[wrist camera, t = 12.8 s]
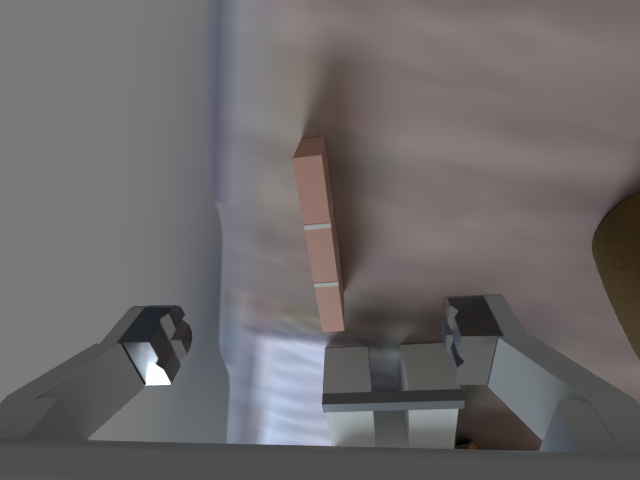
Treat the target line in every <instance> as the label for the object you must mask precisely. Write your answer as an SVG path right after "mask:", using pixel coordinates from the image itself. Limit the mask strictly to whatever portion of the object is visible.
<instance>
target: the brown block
mask: <svg viewBox="0 0 640 480" xmlns="http://www.w3.org/2000/svg"><path fill="white" fill-rule="evenodd" d="M293 163H294V169H295V175H296V180H297V186H298V192H299V198H300V204H301V209H302V215H303V221H304V229H305V233H306V238H307V244H308V250H309V256H310V262H311V267H312V273H313V279H314V287H315V291H316V297H317V302H318V308H319V314H320V320H321V326H322V331H323V332H334V331H344V288H343V280H342V272H341V264H340V255H339V247H338V239H337V231H336V222H335V214H334V206H333V195H332V189H331V181H330V173H329V165H328V156H327V148H326V140H325V136H323V137H315V138H306V139H301V141H300V143H299V145H298V147H297V150H296V152H295V154H294V156H293Z"/></svg>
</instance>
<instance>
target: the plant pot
mask: <svg viewBox="0 0 640 480" xmlns="http://www.w3.org/2000/svg"><path fill="white" fill-rule="evenodd" d="M592 252H593V256H594V259H595V262H596V266H597V269H598V272H599V274H600V277H601V280H602V282H603V285H604V288H605V290H606V293H607V295H608V297H609V300H610V302H611V304H612V306H613V309H614V311H615V313H616V315H617V318H618V320H619V322H620V324H621V326H622V328H623V330H624V332H625V334H626V336H627V338H628V340H629V342H630V344H631V346H632V347H633V349H634V351H635V353H636V355H637V357H638V358H639V360H640V193H638V194H636V195H634V196H631V197H630V198H628V199H627V200H625V201H623V202H622V203H620V204H619V205H618V206H617V207H615V208H614V209H613V210H612V211H611V212H610V213H609V214H608V215H607V216H606V217H605V218H604V219H603V221H602V222H601V223H600V225H599V227H598V228H597V230H596V232H595V234H594V238H593V243H592Z"/></svg>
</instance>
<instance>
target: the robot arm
mask: <svg viewBox="0 0 640 480" xmlns="http://www.w3.org/2000/svg"><path fill="white" fill-rule="evenodd" d="M443 310H444V313H445V316H444V317H443V318H442V320H441V333H442V341H443V345H444V349H445V352H447V353H448V354H449V355H450V359H449V366H450V369H451V372H452V376H453V379H454V382H455V384H459V385H488V387H489V388H490V389H491V390H492V391H493V392H494V393H495V394H496V395H497V396H498V397H499V398H500V399H501V400H502V401H503V402H504V403H505V404H506V405H507V406H508V407H509V408H510V409H511V410H512V411H513V412H514V413H515V414H516V415H517V416H518V417H519V418H520V419H521V420H522V421H523V422H524V423H525V424H526V425H527V426H528V427H529V428H530V429H531V430H532V431H533V432H534V433H535V434H536V435H537V436H538V437H539V438H540V439H541V440H542V441H543V442H542V444H541V447H540V450H539V451H517V450H475V449H434V448H390V447H346V446H301V445H260V444H221V443H180V442H179V443H178V442H138V441H96V440H89V439H88V438H89V437H90V436H91V435H92V434H93V433H94V432H95V431H96V430H98V429H99V428H100V427H101V426H102V425H103V424H104V423H105V422H106V421H107V420H109V418H111V417H112V416H113V415H114V414H115V413H116V412H118V411H119V410H120V409H121V408H122V407H123V406H124V405H125V404H126V403H128V402H129V401H130V400H131V399H132V398H133V397H134V396H135V395H136V394H138V393H139V392H140V391H141V390H142V389H143V388H144V387H145V385H166V384H172V382H173V380H174V378H175V376H176V374H177V372H178V370H179V369H180V367H181V365H180V361H179V360H180V359H182V358H183V357H184V356H186V355H187V353H188V351H189V349H190V347H191V343H192V331H191V329H190V326H189V324H187V323H186V322H185V321H183V318H184V316H185V314H184V312H183V310H182V308H181V307H180V306H177V305H166V306H164V305H157V306H134V307H131V308H130V309H129V310H128V311H127V312H126V314H124V316H123V317H122V318H121V319H120V320H119V321H118V323H117V324H116V325H115V326H114V328H113V329H112V330H111V331H110V332H109V333H108V335H107V336H106V337H105V338H104V339H103V340H102V342H101V343H100V344H94V345H92V346H91V347H89V348H87V349H85V350H84V351H82V352H80V353H79V354H77V355H75V356H74V357H72V358H70V359H69V360H67V361H65V362H63V363H62V364H60V365H58V366H57V367H55V368H53V369H52V370H50V371H48V372H47V373H45V374H43V375H42V376H40V377H38V378H36V379H35V380H33V381H32V382H30V383H28V384H26V385H25V386H23V387H21V388H20V389H18V390H16V391H14V392H13V393H11V394H9V395H8V396H7V397H6V398H5V399H4V400H3V401H2V402H1V403H0V480H640V405H639V404H638V403H637V402H636V400H635V399H634V398H632V397H630V396H629V395H627V394H625V393H624V392H622V391H621V390H619V389H617V388H616V387H614V386H613V385H611V384H609V383H608V382H606V381H605V380H603V379H601V378H600V377H598V376H596V375H595V374H593V373H592V372H590V371H588V370H587V369H585V368H584V367H582V366H580V365H579V364H577V363H575V362H574V361H572V360H571V359H569V358H567V357H566V356H564V355H563V354H561V353H559V352H558V351H556V350H554V349H553V348H551V347H550V346H548V345H546V344H545V343H543V342H542V341H540V340H538V339H537V338H535V337H534V336H527V335H526V334H525V332H524V330H523V329H522V327H521V325H520V324H519V322H518V320H517V319H516V317H515V315H514V314H513V312H512V310H511V309H510V307H509V305H508V304H507V302H506V300H505V299H504V297H503V296H502V295H501V294H487V295H473V296H448V297H444V300H443Z"/></svg>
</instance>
